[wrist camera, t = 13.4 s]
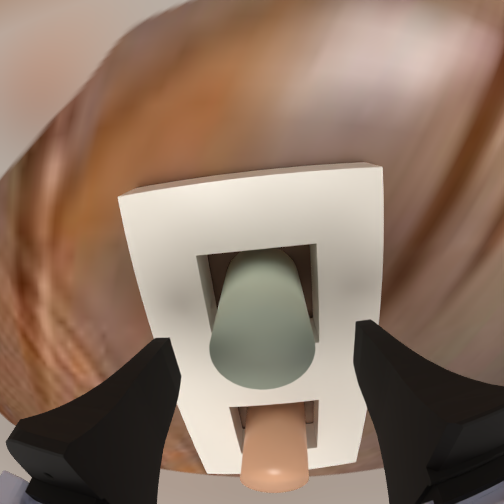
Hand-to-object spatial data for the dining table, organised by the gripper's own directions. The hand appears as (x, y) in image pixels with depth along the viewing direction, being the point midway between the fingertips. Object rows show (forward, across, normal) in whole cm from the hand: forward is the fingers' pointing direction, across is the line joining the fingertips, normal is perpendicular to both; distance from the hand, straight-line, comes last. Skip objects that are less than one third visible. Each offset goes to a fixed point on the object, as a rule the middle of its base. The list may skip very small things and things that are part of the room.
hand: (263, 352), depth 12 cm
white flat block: (+6, 0, +5) cm, 8 cm away
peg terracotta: (+6, 0, +10) cm, 12 cm away
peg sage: (+6, 0, 0) cm, 6 cm away
